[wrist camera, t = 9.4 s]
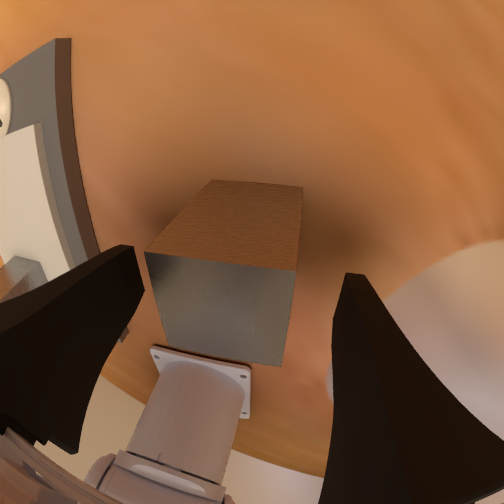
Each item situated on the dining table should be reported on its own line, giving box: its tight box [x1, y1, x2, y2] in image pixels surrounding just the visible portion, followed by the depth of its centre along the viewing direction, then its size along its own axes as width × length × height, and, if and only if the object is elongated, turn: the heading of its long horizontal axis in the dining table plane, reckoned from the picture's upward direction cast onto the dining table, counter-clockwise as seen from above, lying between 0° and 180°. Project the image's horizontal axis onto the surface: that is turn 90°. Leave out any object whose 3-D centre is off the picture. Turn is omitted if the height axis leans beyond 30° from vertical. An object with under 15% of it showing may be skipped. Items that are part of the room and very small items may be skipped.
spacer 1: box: [0, 255, 48, 303], centre depth 14 cm, size 4×4×6 cm
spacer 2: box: [144, 180, 303, 367], centre depth 10 cm, size 4×4×6 cm
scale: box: [0, 38, 129, 343], centre depth 15 cm, size 21×14×2 cm, turn 179°
